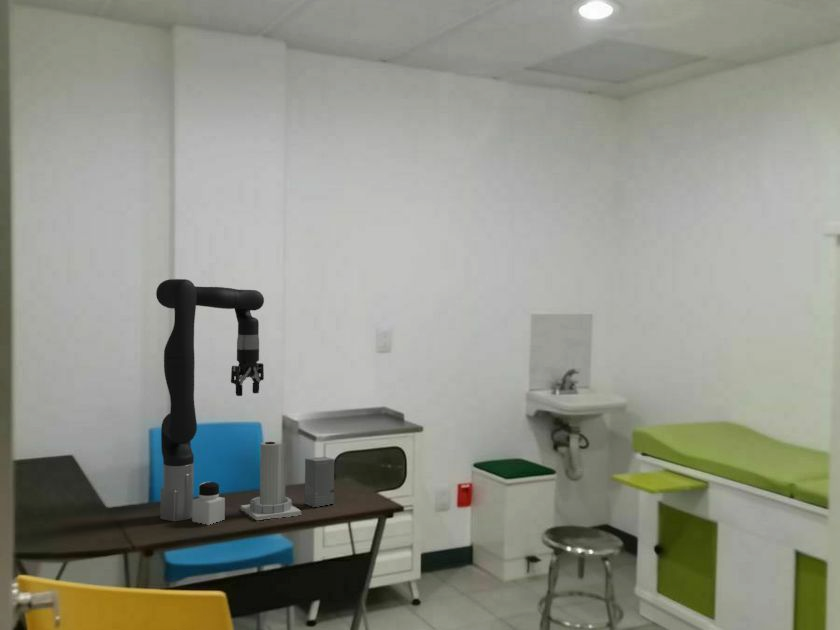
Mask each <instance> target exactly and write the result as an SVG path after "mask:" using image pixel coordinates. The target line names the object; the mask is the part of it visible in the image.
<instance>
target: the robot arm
mask: <svg viewBox="0 0 840 630" xmlns="http://www.w3.org/2000/svg"><path fill="white" fill-rule="evenodd" d="M155 295H156V299H157V301H158V303H159V304H160V305H161V306H163V307H164V308H167V309H173V310H174V323H173V328H172V331H171V333H170V335H169V337H168V339H167V341H166V344H165V346H164V349H163V350H164V351H163V369H164V370H163V372H164V378H165V382H166V386H167V390H168V394H169V400H170V410H169V411H170V412H169V413H168V414H167V415H165V416H164V418H163V420H162V421H161V422H162V423H161V431H160V434H161V435H160V436H161V438H160V440H161V443H160V444H161V456H162V459H163V467H162V468H163V469H162V476H163V477H162V488H160V509H159V510H160V516H159V517H160V518H159V519H161V520H165V521H169V522H170V521H171V522H179V521H186V520H189V519H192V515H193V499H194V473H195V472H194V469H195V468H194V467H195V466H194V465H195V464H194V463H195V462H194V460H195V458H194V455H195V454H194V453H193V450H192V446H191V441H192V440H193V439H194V437H195V436H196V433H197V429H198V423H197V417H196V415H197V413H196V408H195V363H196V362H195V321H196V319H195V318H196V312H197V311H196V310H197V306H199V307H207V308H215V309H225V310H233V309H234V312H235V317H236V319H237V338H236V362H238V365H232V366H231V373H230V382H231V384H233V385H235V396H237V397H242V396H243V384H244V381H245V380H247V378H250V379H251V381H252V394H259V392H260V383H261V381H264V379H265V376H264V373H265V372H264V369H265V368H264V364H263V362H262V363H261V362H259V361H260V336H259V333H260V332H259V331H260V330H259V329H260V328H259V326H260V325H259V319H258V318H256V317H254V316H252V313H251V311H258V310H260V309H261V308H262V307H263V306H264V303H265V297H264V295H263V294H262V293H261V292H260V291H258V290H255V289H238V288H237V289H236V288H230V287H225V286H224V287H223V286H195V284H194V282H193V281H191V280H189V279H185V278H170V279H166V280H163V281H162V282H161V283H159V284H158V286H157V288H156V293H155Z"/></svg>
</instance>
